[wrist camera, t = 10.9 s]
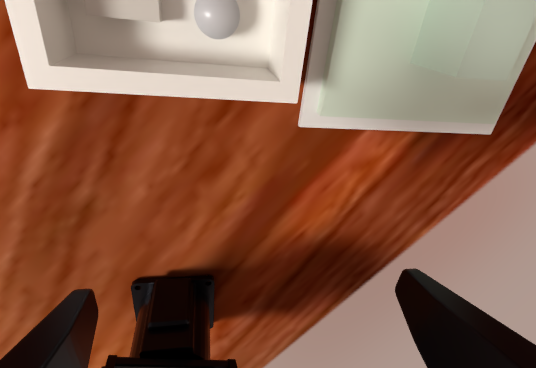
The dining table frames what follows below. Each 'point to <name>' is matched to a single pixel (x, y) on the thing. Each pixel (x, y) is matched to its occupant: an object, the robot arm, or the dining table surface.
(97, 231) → the dining table surface
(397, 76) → the lid
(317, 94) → the mat
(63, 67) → the tub
